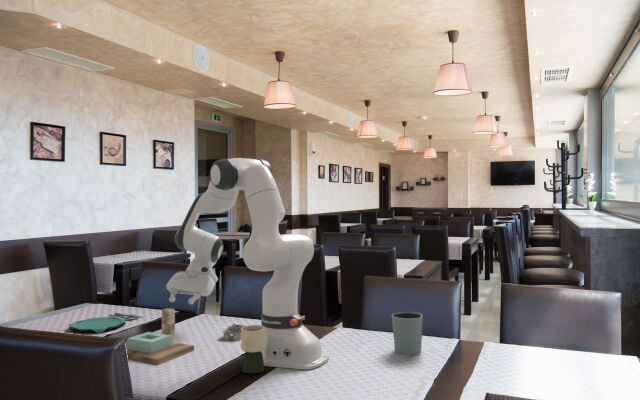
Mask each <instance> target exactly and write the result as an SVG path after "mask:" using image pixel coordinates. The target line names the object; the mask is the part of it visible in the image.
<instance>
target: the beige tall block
mask: <svg viewBox="0 0 640 400" xmlns="http://www.w3.org/2000/svg"><path fill="white" fill-rule="evenodd" d="M175 311H176V309H175V308H171V307H170V308H169V307H166V308H165V307H164V308H162V309H161V334H165V335H171V338H174V337H176V317H175V316H176V314H175Z"/></svg>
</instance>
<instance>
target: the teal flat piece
mask: <svg viewBox="0 0 640 400" xmlns="http://www.w3.org/2000/svg"><path fill="white" fill-rule="evenodd" d="M108 316H109V317H107V316H104V317H103V316H102V317H101V316H99V317H98V316H97V317H90V318H87V319H83V320H77V321H75V322H73V323H70V324H69V325H68V329H69V330H74V331H78V332H95V333H96V334H102V333H104V331H107V330H111V329H112V330H113V329H116V328H119V327H121V326H123V325H126V324H127V323H126V321H127V322H133V321H134V320H138V319H143V316H141V315H138V314H137V315H136V314H133V313H132V314H125V313H120V312H115V313H114V314H109V315H108Z"/></svg>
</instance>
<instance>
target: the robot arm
mask: <svg viewBox="0 0 640 400" xmlns="http://www.w3.org/2000/svg"><path fill="white" fill-rule="evenodd" d="M209 177H210V181H209V183H208V186H207V189H206V191H204V192H201V193H199V194H198V195H197V196H196V197H195V199H194V200H193V202H192V204H191V206H190V207H189V210H188V212H187V213H186V215H185V218H184V220H183V221H182V224H181V226H180V227H179V229H178V230H177V232H176V234H175V236H174V243H175V245H176V247H177V248H178V249H180V250H183V251H187V252H190V253H192V254H193V255H195V256H194V258H193V259H191V260H190V263H189V264H188V266H187V268H186V269H185V271H183V270H182V271H177V272H176V273H174V274H173V276H172V277H171V278H170V279H169V280H168V282H167V283H166V285H165V288H166V289H167V291H168V292H169V293H170V297H169V298H168V301H169V302H171V303H174V302H175V301H176V295H177V294H182V295H183V294H184V295H193V296H192V297H189V298H188V301H187V303H188V304H189V305H194V303H195V302H196V301H197V300H198V299H200V297H201V296H202V297H209V296H210V295H211V294H212V292H213V290H214V288H215V286H216V283H217V282H218V280H219V278H218V276H217V275H216V273H215V272H214V271H213V267H214V266H215V265H216V264H217V262H218V261H219V259H220V258H221V257H222V254H223V253H224V252H223V251H224V248H225V246H224V243H223V240H222V238H221V237H220V236H217V235H216V234H214V233H210V232H208V231H206V230H203V229H200V228H199V227H197V226H196V225H195V224H196V222H197V220H198V219H199V217H200V214H202V213H203V214H204V213H211V214H212V213H213V214H221V213H225V212H228V211H229V210H230V209H232V208H233V207H234V206H235V204H236V201H237V198H238V197H239V191H243V193H244V196H245V200H246V204H247V207H248V212H249V215H250V220H251V234H250V236H249V239H248V240H247V242H246V243H245V245H244V247H243V250H242V259H243V262H244V264H245V265H246V267H247V268H248V269H249V270H251V271H255V272H264V273H265V272H271V271H273V275H272V276H271V278H270V280H269V281H268V282H267V283H266V284H265V285H264V287H263V289H262V312H261V317H260V320H261V321H260V322H261V324H260V325H261V326H264V327H265V349H264V350H263V351H261V352H262V355H263V361H264V367H274V368H284V369H295V370H307V371H308V370H313V369H316V368H318V367H321V366H323V365H324V364H326V363H327V362H328V361H329V359H330V358H329V354H327V353H324V352H322V347H321V346H322V345H321V341H320V339H319V338H318V337H317V336H316V335H314V334H313V332H311V331H310V330H309V329H308V328H307V327H306V326H305V325H304V324H303V320H306V318H305V317H306V315H300V313H299V311H298V300H299V299H298V295H299V287H300V286H299V285H300V281H301V278H302V275H303V273H304V271H305V269H306V267H307V265H308V264H309V263H310V262H311V261H312V259H313V257H314V254H315V247H314V244H313V241H312V240H311V238H309V236H307V235H304V234H300V233H299V234H298V233H286V234H285V233H284V234H281V233H280V231H279V224H280V223H281V222H282V221H283V219H284V218H285V215H286V209H285V207H284V204H283V200H282V197H281V194H280V190H279V188H278V186H277V182H276V180H275V178H274V176H273V169H272V166H271V165H270V163H269V162H268V161H267V160H266V159H262V158H243V157H233V158H221V159H218V160H215V161H214V162H213V163H212V165H211V166H210V171H209Z"/></svg>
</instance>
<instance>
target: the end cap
mask: <svg viewBox="0 0 640 400" xmlns="http://www.w3.org/2000/svg"><path fill="white" fill-rule="evenodd" d="M126 342H128V349H130V350H136V351H141V352H147V353H154V352H156V351H159V350H162V349H164V348H167V347H170V346H171V342H172V337H171V335H165V334H162V333H158V332H151V331H146V332H143V333H140V334H136V335H134V336H131V337H128V338H127V340H126Z"/></svg>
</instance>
